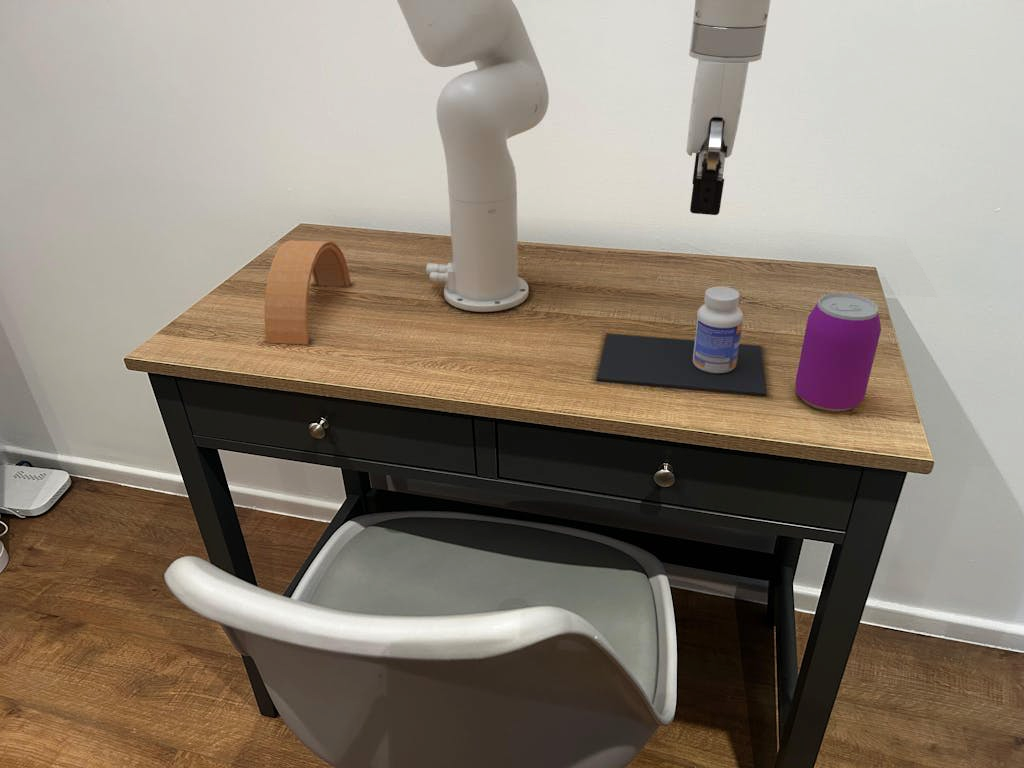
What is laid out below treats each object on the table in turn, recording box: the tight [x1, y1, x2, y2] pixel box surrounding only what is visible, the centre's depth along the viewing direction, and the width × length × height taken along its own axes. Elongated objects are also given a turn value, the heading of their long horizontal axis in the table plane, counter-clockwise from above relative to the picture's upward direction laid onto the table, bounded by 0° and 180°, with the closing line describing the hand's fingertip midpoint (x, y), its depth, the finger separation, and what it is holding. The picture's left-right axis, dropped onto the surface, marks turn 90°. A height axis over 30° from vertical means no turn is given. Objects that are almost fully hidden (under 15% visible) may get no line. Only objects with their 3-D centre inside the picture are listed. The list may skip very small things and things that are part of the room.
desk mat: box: [596, 333, 767, 397], centre depth 101 cm, size 20×12×1 cm, turn 78°
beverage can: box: [794, 292, 882, 413], centre depth 91 cm, size 8×8×12 cm
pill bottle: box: [693, 285, 744, 374], centre depth 98 cm, size 5×5×10 cm
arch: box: [264, 239, 352, 345], centre depth 114 cm, size 6×20×10 cm, turn 173°
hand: (704, 199), depth 94 cm, fingers open, 9 cm apart
